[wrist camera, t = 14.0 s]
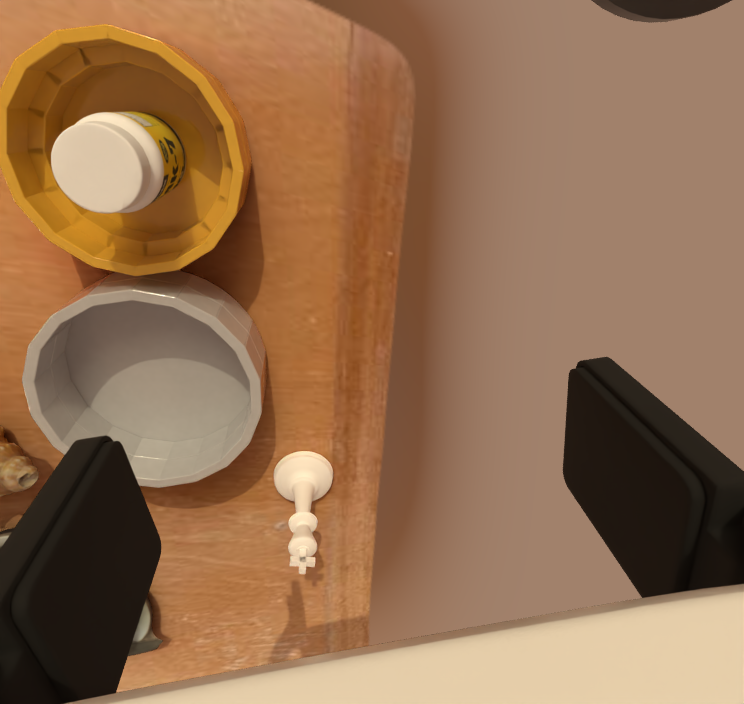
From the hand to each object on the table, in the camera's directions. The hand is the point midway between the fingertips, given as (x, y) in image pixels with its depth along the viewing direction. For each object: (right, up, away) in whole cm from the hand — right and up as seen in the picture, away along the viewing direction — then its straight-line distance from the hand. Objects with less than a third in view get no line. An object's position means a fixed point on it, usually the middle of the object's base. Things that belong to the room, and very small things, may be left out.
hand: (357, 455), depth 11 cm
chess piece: (-5, -8, +33) cm, 34 cm away
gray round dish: (-15, +1, +27) cm, 31 cm away
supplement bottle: (-13, +14, +21) cm, 28 cm away
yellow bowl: (-13, +14, +21) cm, 29 cm away
